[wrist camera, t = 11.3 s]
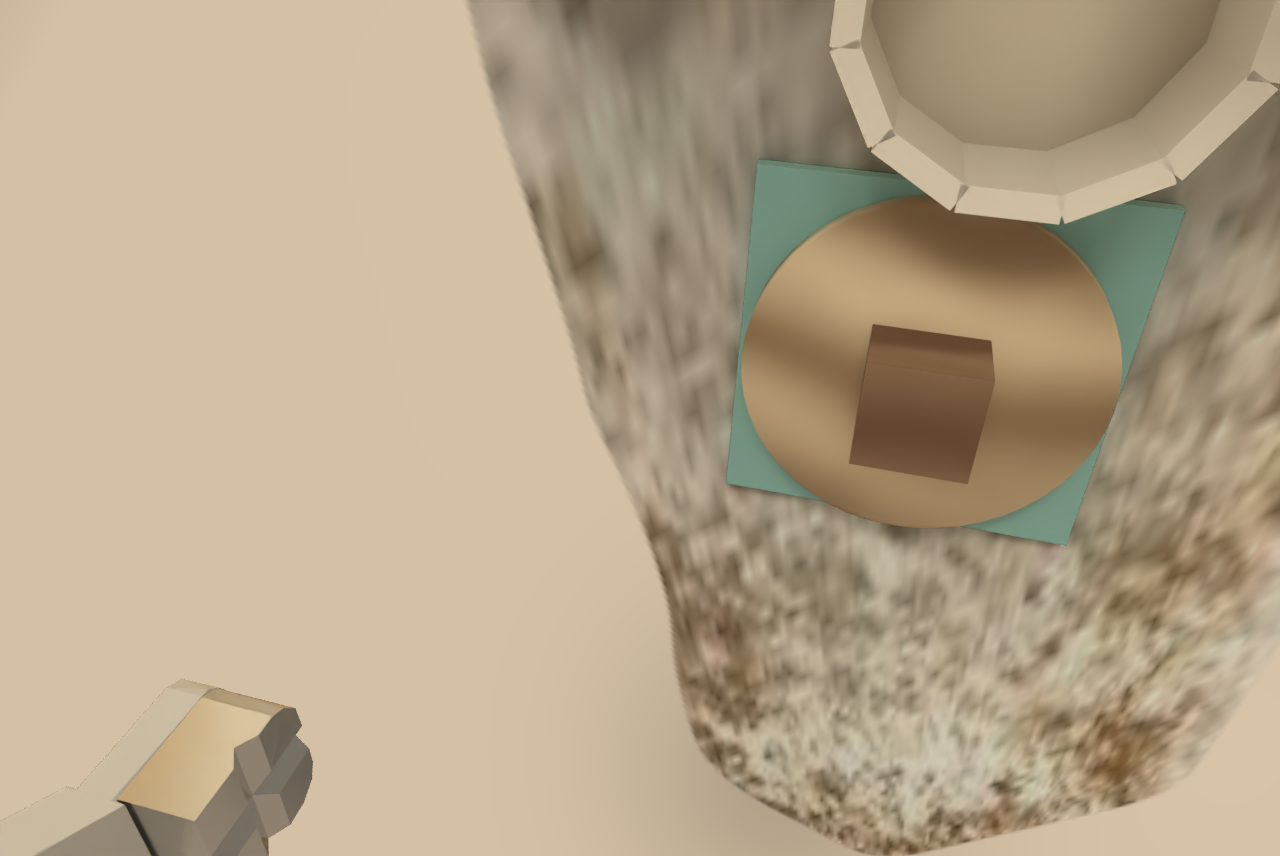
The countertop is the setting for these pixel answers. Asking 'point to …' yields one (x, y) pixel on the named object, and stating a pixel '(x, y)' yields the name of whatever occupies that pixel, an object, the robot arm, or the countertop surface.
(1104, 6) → the ceramic bowl
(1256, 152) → the countertop surface
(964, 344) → the oak lid
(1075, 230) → the rubber mat
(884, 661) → the countertop surface
